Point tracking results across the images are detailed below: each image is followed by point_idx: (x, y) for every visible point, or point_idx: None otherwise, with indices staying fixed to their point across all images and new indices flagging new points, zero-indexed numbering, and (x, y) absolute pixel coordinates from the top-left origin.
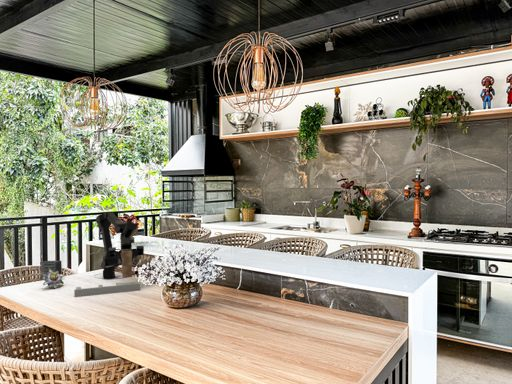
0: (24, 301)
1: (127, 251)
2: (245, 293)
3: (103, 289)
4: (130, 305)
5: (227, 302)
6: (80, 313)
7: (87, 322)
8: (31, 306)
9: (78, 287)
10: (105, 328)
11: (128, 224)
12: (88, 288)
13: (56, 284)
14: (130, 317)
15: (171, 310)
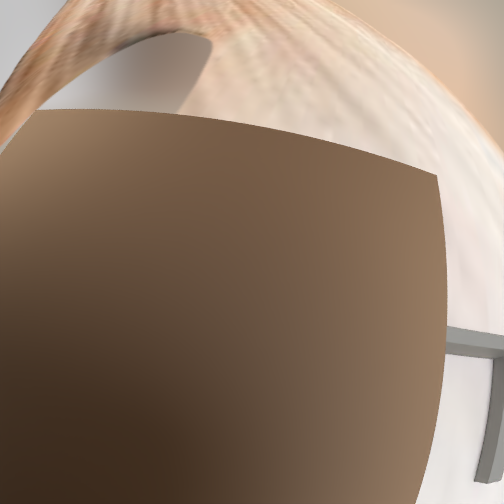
0: None
1: (154, 130)
2: (19, 77)
3: None
4: (302, 91)
5: (94, 41)
6: (444, 122)
7: (409, 69)
8: None
9: (497, 468)
10: (369, 37)
11: None
12: (486, 336)
13: None
14: (319, 41)
15: (217, 33)
